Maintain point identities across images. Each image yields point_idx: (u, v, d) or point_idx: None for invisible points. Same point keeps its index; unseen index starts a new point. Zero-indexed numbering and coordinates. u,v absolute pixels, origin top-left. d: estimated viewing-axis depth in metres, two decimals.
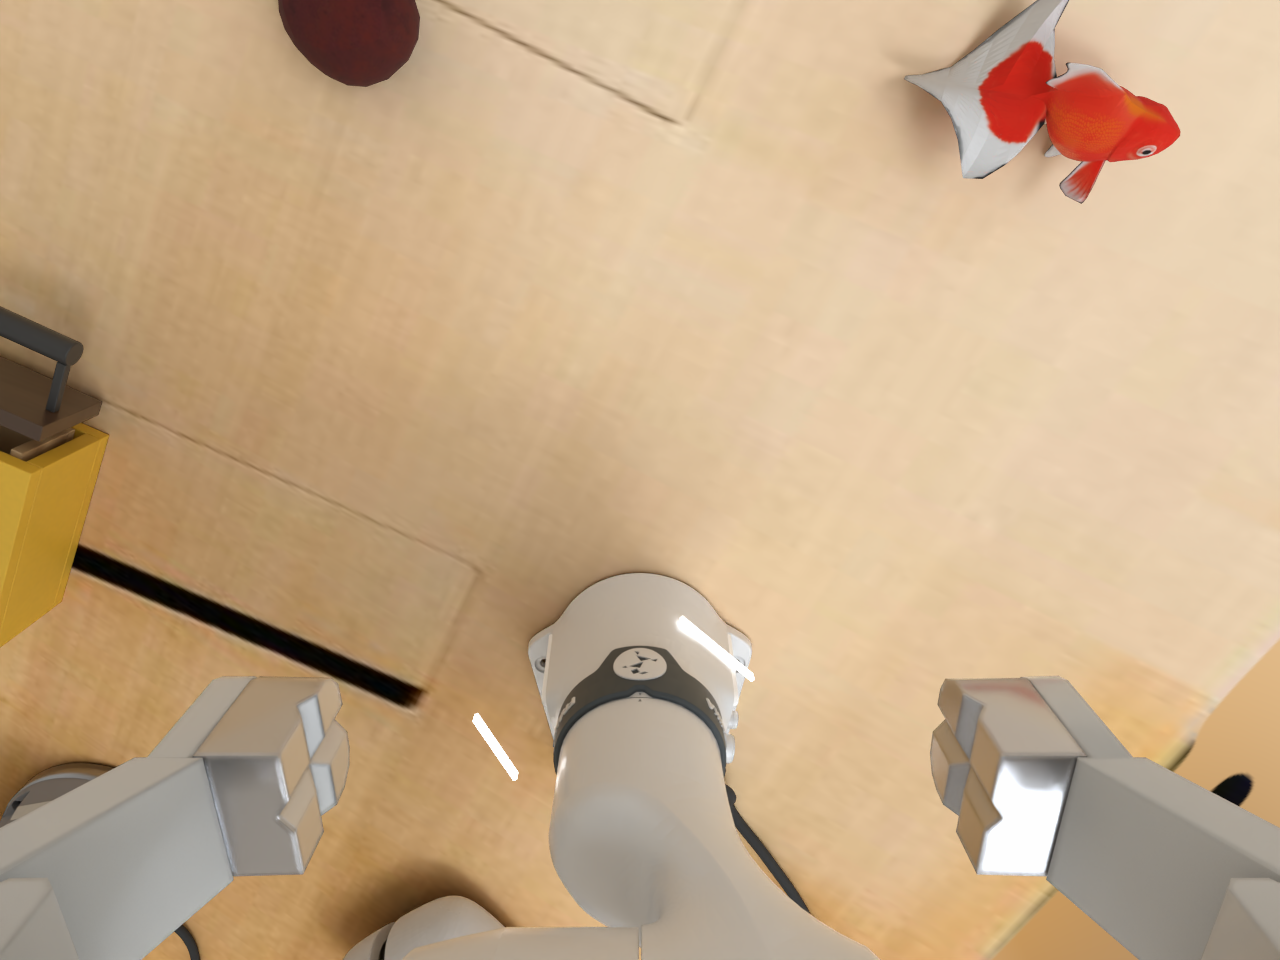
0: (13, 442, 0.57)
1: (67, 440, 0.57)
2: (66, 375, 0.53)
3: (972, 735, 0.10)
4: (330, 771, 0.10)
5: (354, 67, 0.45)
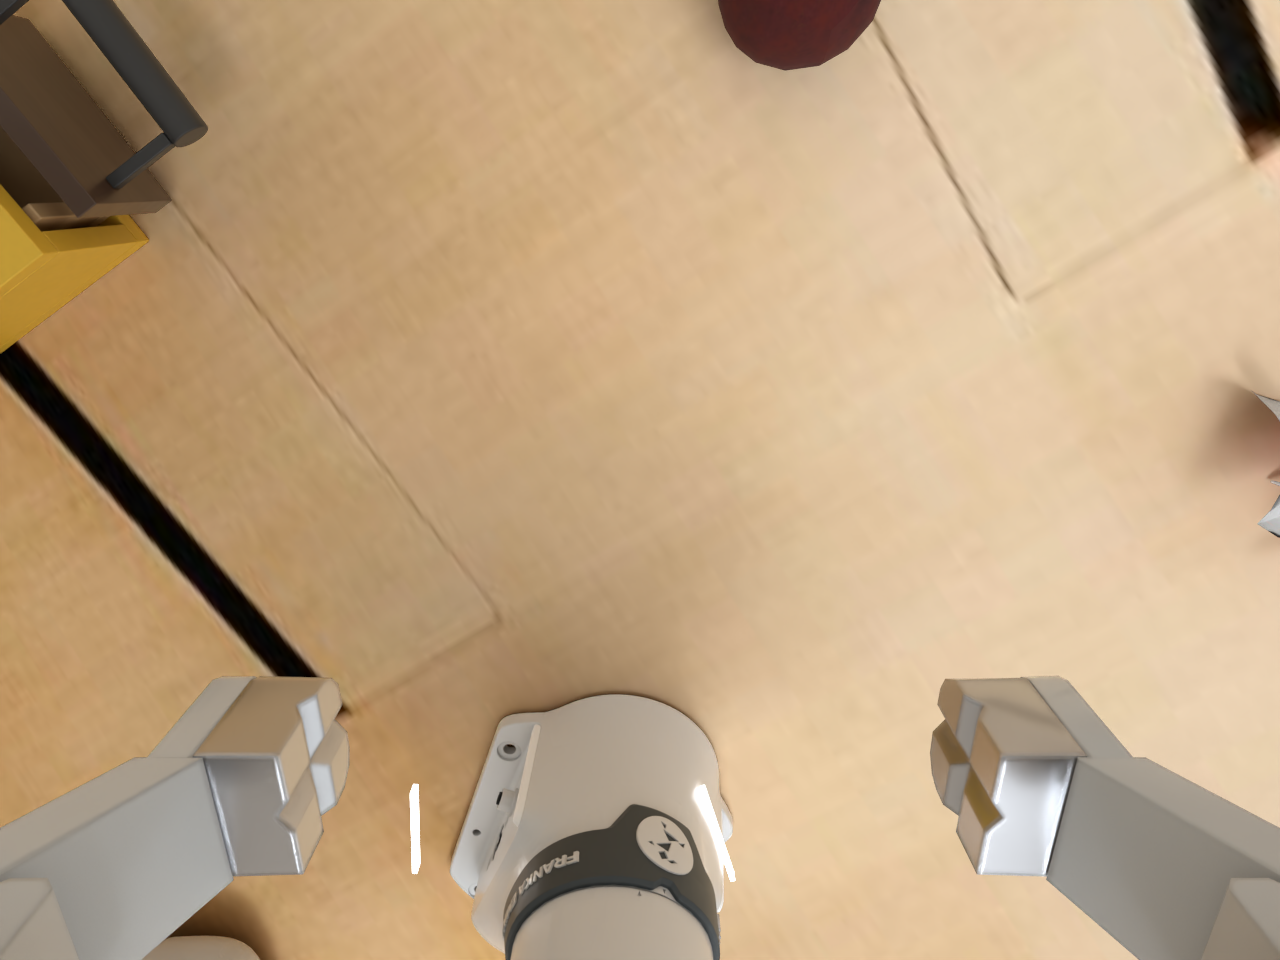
0: (17, 182, 0.40)
1: (96, 221, 0.40)
2: (163, 154, 0.37)
3: (972, 735, 0.10)
4: (330, 771, 0.10)
5: (778, 40, 0.34)
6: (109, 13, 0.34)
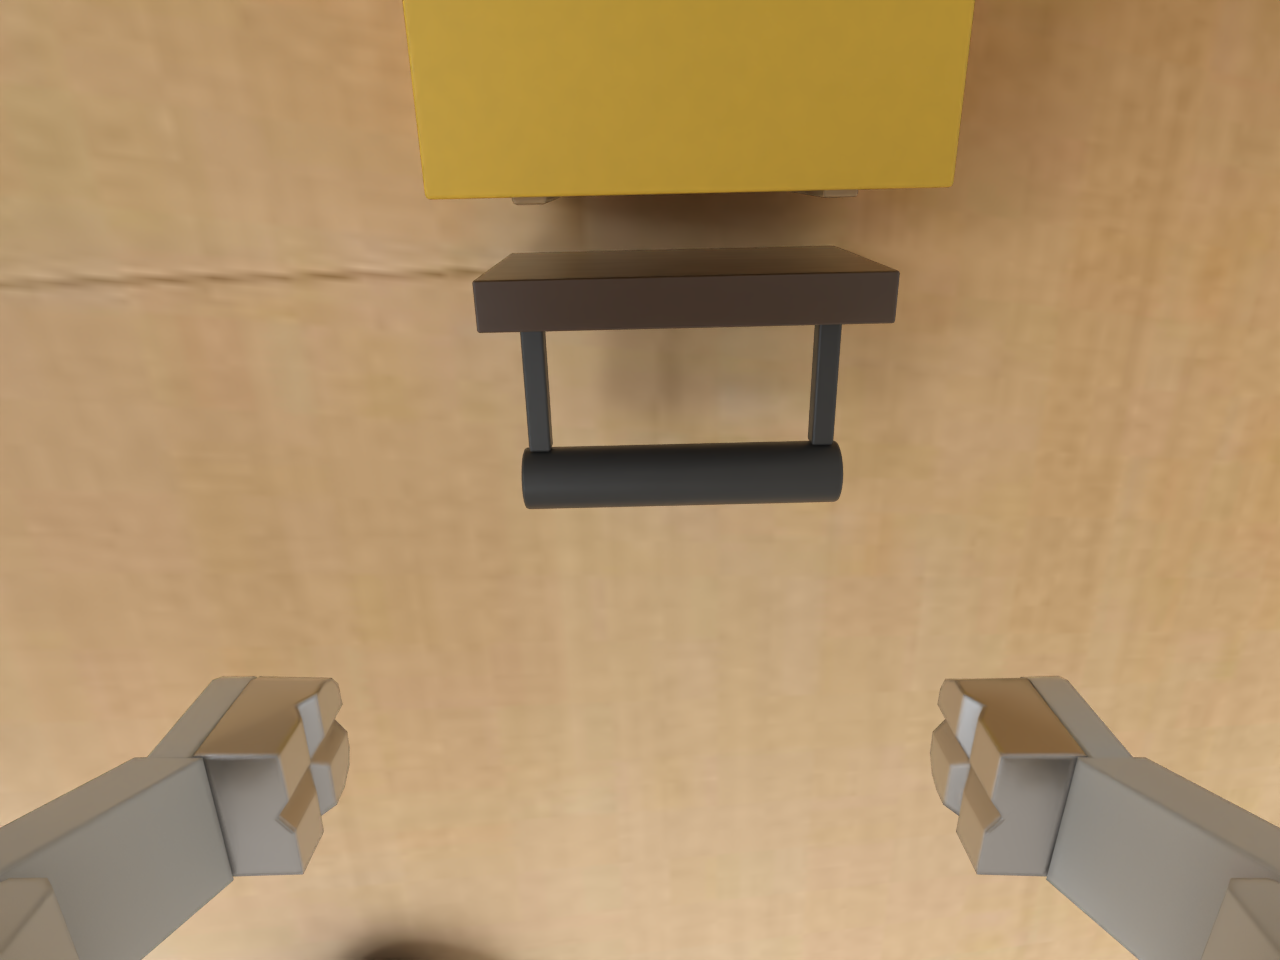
0: None
1: None
2: (528, 420, 0.22)
3: (972, 735, 0.10)
4: (330, 771, 0.10)
5: None
6: (716, 503, 0.22)
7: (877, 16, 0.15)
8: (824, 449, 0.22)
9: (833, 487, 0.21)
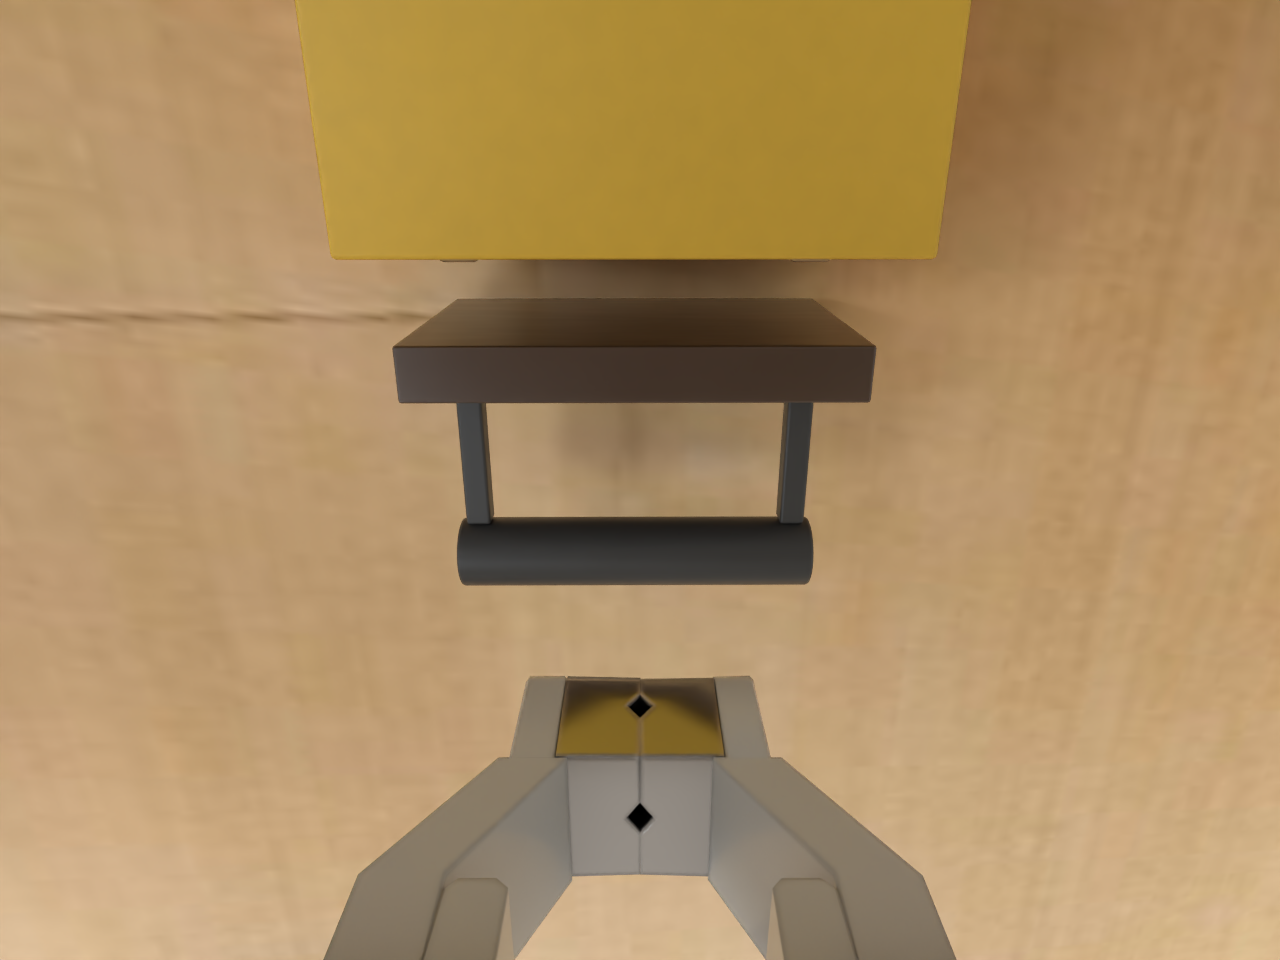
0: None
1: None
2: None
3: None
4: None
5: None
6: (674, 584, 0.20)
7: (851, 64, 0.13)
8: (793, 529, 0.20)
9: (802, 571, 0.19)
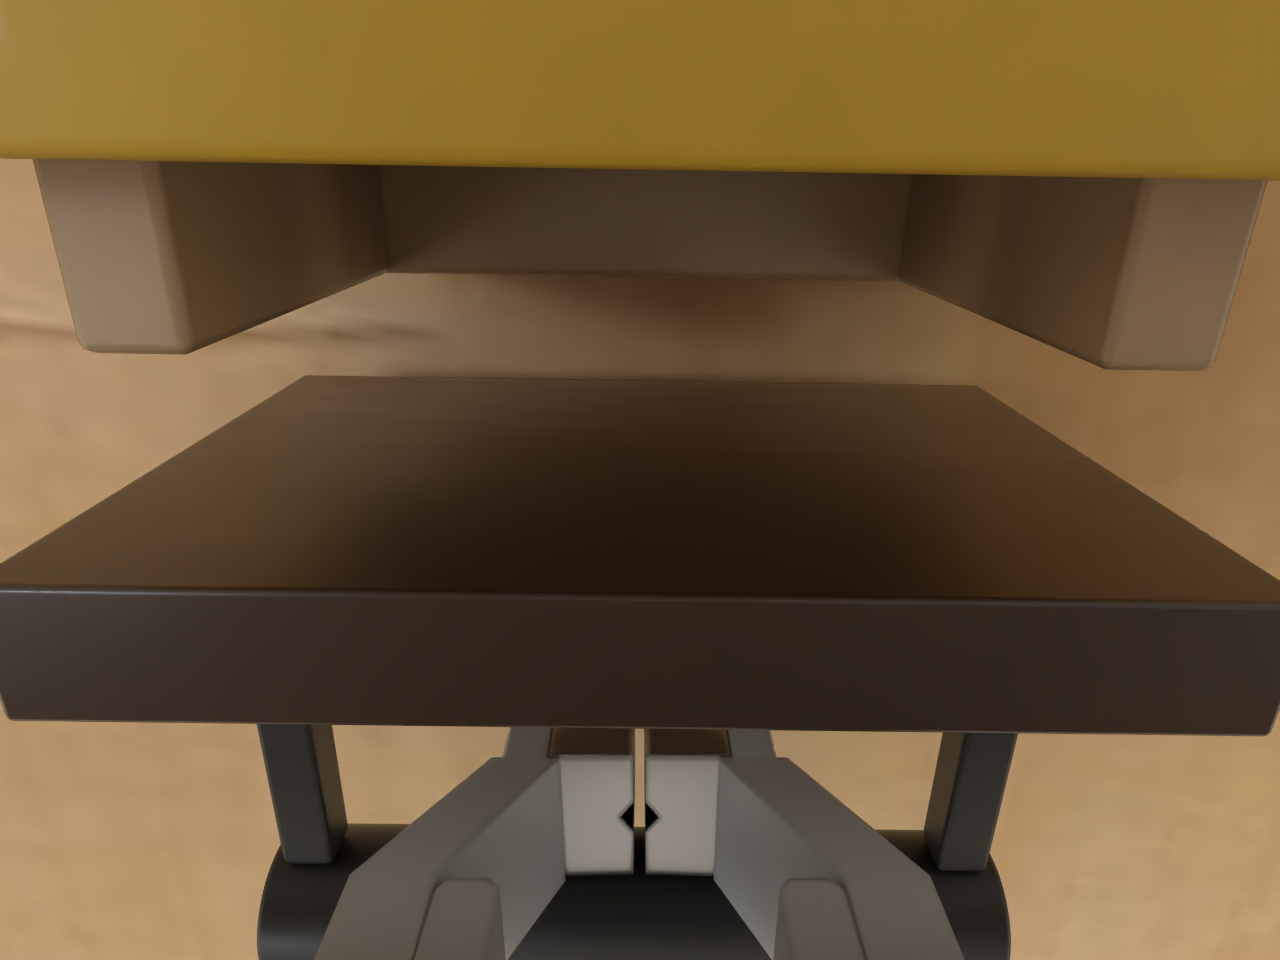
0: None
1: None
2: None
3: None
4: None
5: None
6: None
7: None
8: (966, 885, 0.09)
9: None
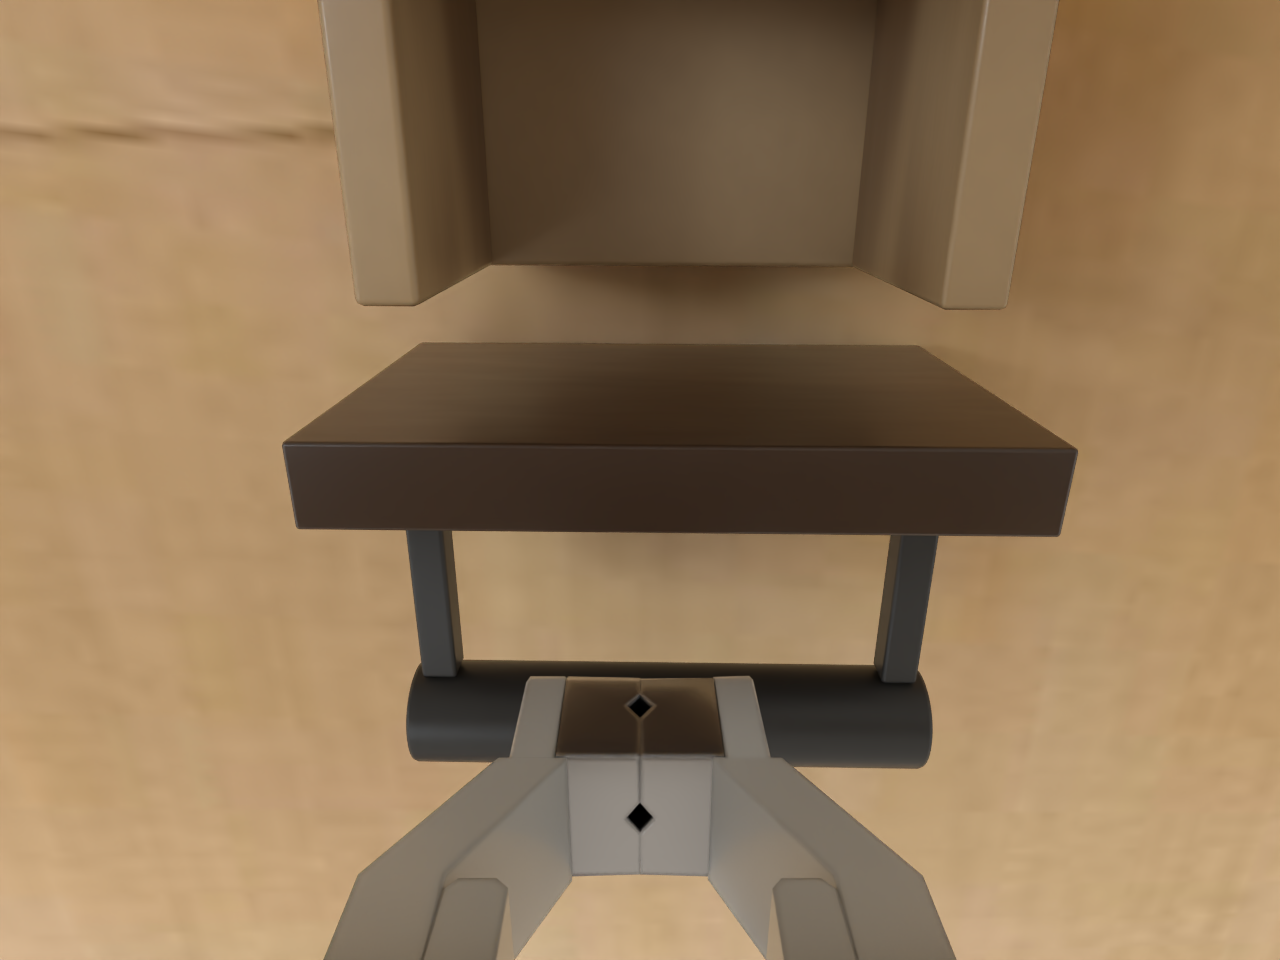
0: (645, 98, 0.13)
1: None
2: (423, 625, 0.13)
3: None
4: None
5: None
6: None
7: None
8: (902, 692, 0.13)
9: (915, 756, 0.13)
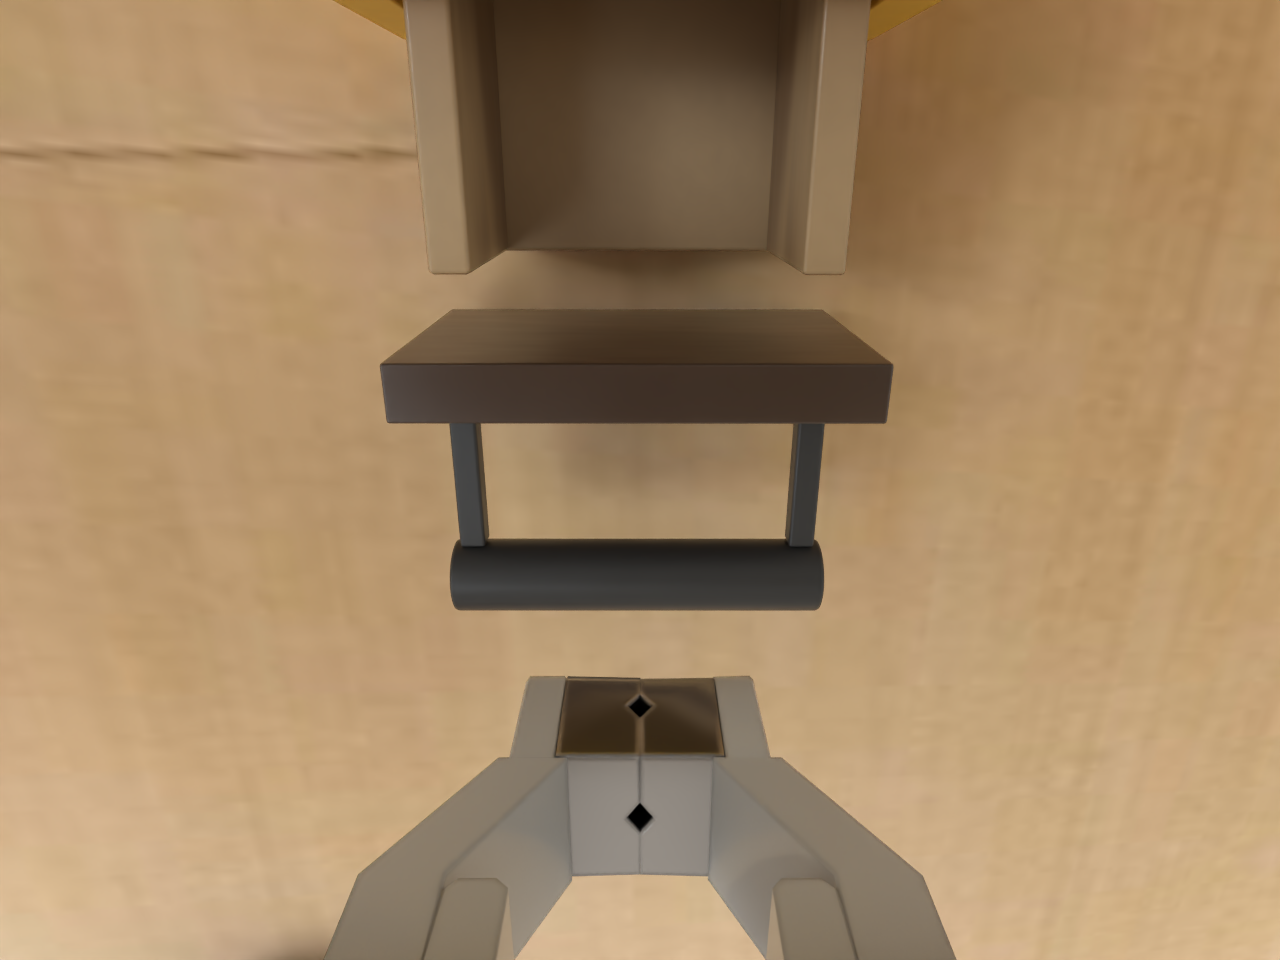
0: (616, 131, 0.18)
1: None
2: None
3: None
4: None
5: None
6: (678, 609, 0.19)
7: None
8: (803, 553, 0.19)
9: (812, 597, 0.18)
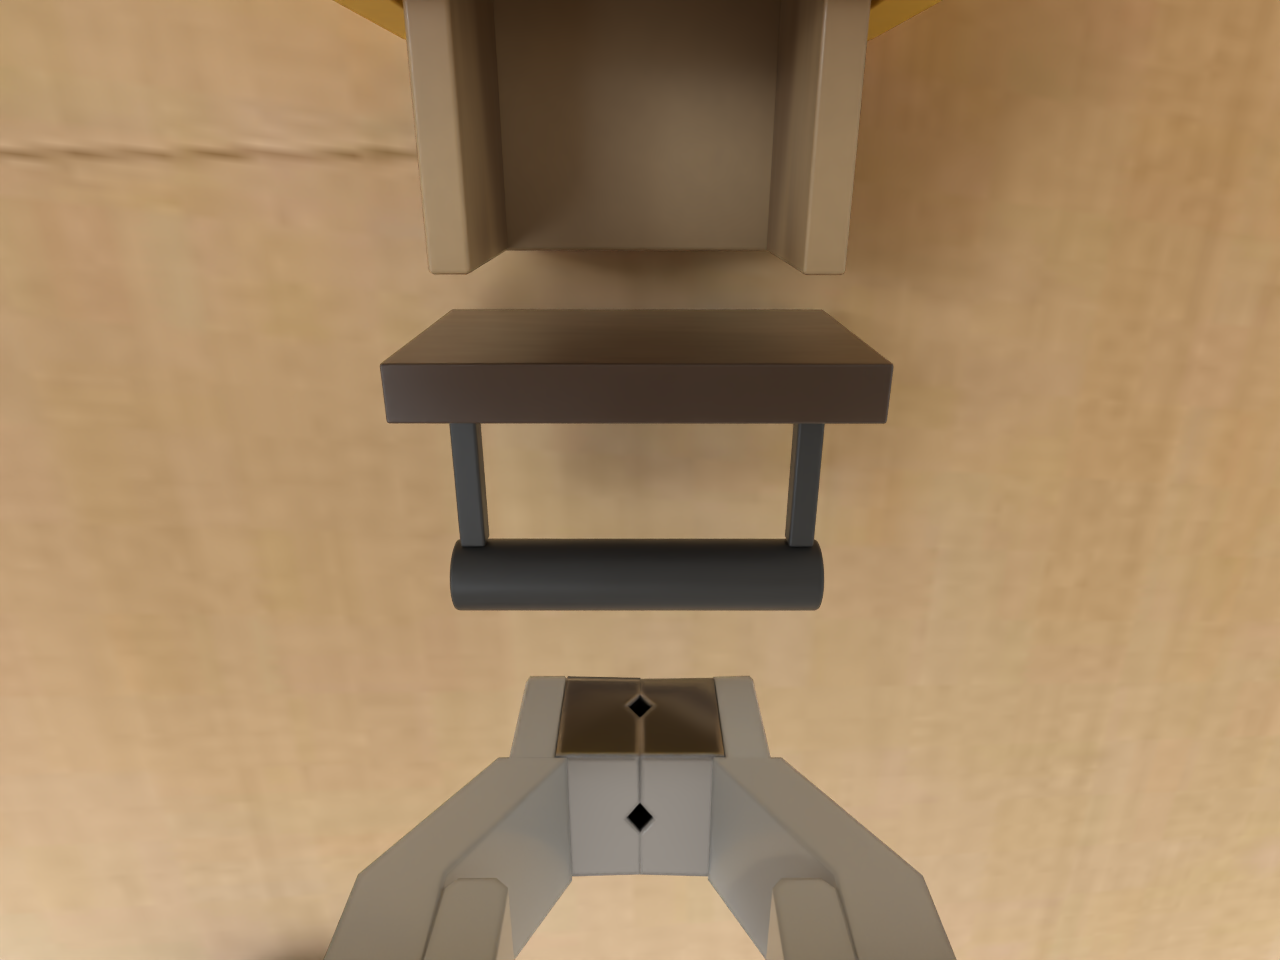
0: (616, 131, 0.18)
1: None
2: None
3: None
4: None
5: None
6: (677, 609, 0.19)
7: None
8: (803, 553, 0.19)
9: (812, 597, 0.18)
